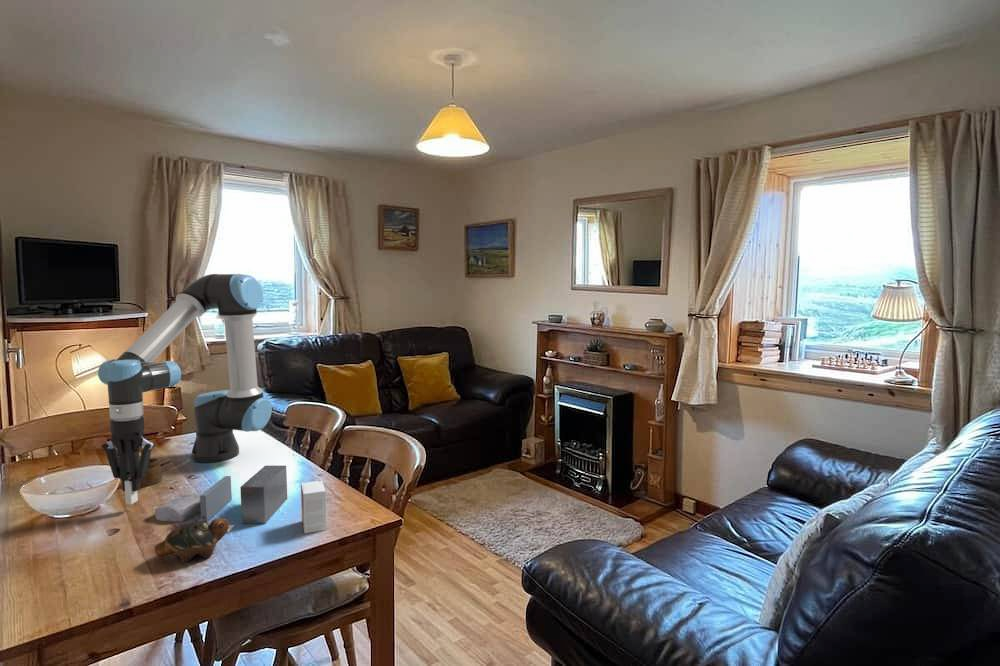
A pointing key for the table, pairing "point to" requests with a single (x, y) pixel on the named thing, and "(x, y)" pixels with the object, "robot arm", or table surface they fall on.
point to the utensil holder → (152, 472)
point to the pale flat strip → (230, 528)
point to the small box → (313, 506)
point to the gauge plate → (215, 498)
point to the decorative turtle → (193, 539)
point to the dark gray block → (263, 494)
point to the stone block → (179, 508)
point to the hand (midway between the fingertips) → (131, 502)
